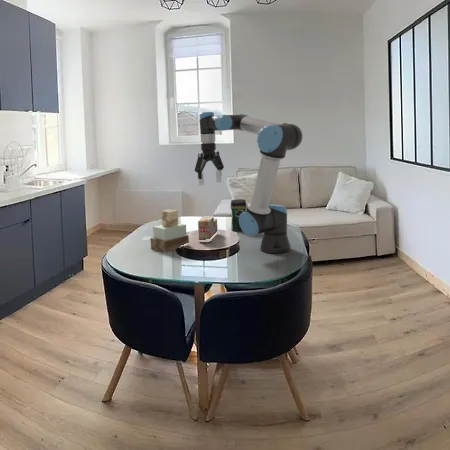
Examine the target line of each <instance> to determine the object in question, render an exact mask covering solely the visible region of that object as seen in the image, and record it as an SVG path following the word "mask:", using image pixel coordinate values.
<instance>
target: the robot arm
mask: <svg viewBox="0 0 450 450" xmlns="http://www.w3.org/2000/svg"><path fill="white" fill-rule="evenodd" d="M198 120H199V122H198V123H199V132H200V145H201V146H200V148H201V149H200V150H201V151H202V152H198V153H197V160H196V164H195V167H194V172H196V173H197V178H198V186H204V185H205V180H204V179H205V178H204V172H203V171H204V169H205V167H206V165H207V163H208V162H212V164H213V165H214V167H215V169H216V170H215V176H216V183H222V170H223V169H224V168H225V166H224V164H223V160H222V158H221V156H220V152H219V151H218V150H217V151H216V148H217V146H216V145H217V144H216V132H215V131H217V132H218V131H220V132H221V131H222V132H223V131H236V130H238V131H240V132H245V133H248V134H249V133H250V134H253V135H257V139H256V142H257V147H258V148H259V153H260V155H261V157H260V158H261V159H260V163H259V168H258V171H257V175H256V180H255V184H254V188H253V193H252V197H251V202H249V203H247V204H246V205H247V207H246V212H243V213H241V214H240V216H239V225H240V227H241V229H242V231H241V232H243V233H244V234H245V235H247V236H257V235H260V234H263V236H262V238H261V239H262V240H261V243H260V247H259V248H260V251H261V252H263V253H267V254H283V253H287V252H290V251H291V243H290V240H289V237H288V211H287V207H286V206H285V205H283V204H274V203H273V204H272V203H271V199H272V196H273V195H272V194H273V191H274V187H275V183H276V181H277V175H278V171H279V167H280V164H281V161H282V160H283V159H286V155H287V154H286V153H287V151H291V150H295V149H296V148H298V147H299V146H300V144H301V143H302V141H303V131H302V129H301V128H300V127H299V126H298V125H296V124H292V123H285V122H284V123H278V122H277V123H276V122H272V121H268V120H264V119H259V118H257V117H256V118H255V117H250V116H249V115H248V114H242V113H241V114H220V115H219V114H216V115H215V113H214V112H213V111H204V112H200V113H199V119H198Z"/></svg>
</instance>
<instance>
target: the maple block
mask: <svg viewBox="0 0 450 450" xmlns="http://www.w3.org/2000/svg"><path fill="white" fill-rule="evenodd" d="M178 214H179V213H178V209H165V210H161V211H160V216H161V225H162V226H164V227H174V226H178V223H179V215H178Z"/></svg>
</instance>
